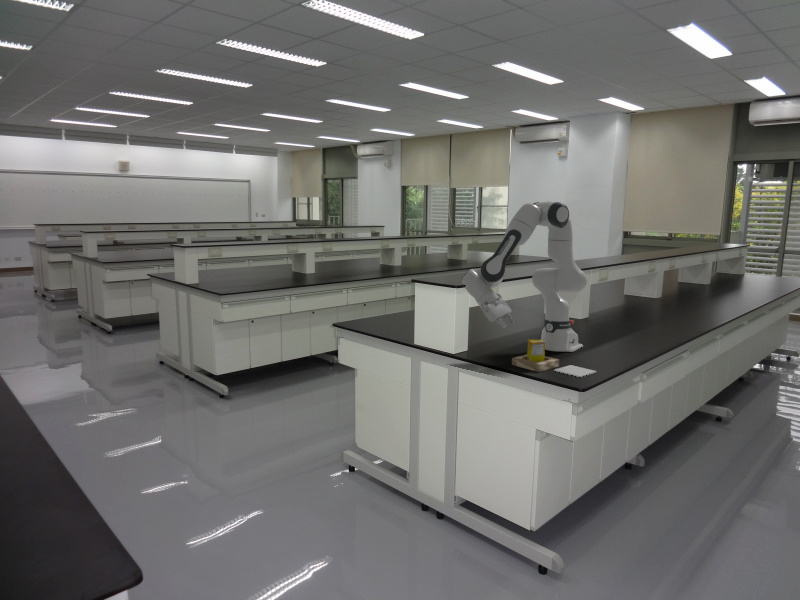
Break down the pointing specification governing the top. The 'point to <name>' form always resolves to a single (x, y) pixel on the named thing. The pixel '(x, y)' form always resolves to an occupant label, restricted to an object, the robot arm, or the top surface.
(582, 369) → the grey pad
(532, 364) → the pocket holder
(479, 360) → the top surface
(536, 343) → the supplement box
